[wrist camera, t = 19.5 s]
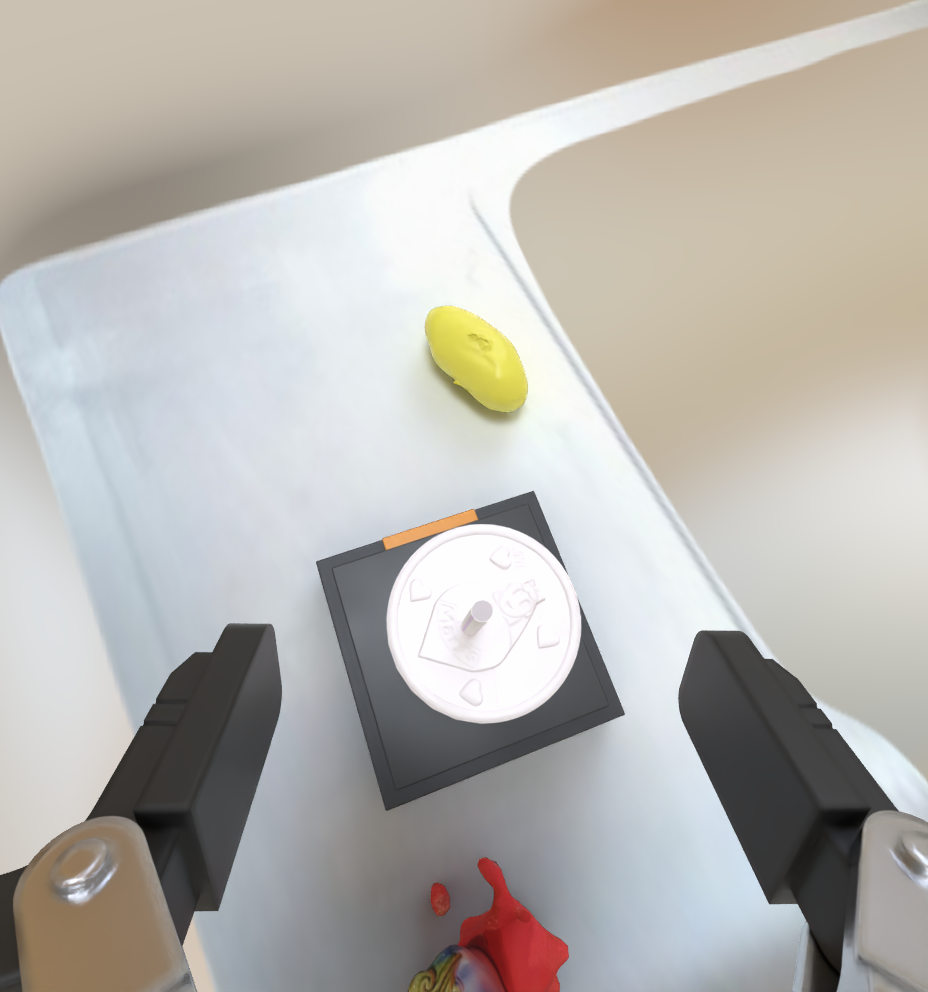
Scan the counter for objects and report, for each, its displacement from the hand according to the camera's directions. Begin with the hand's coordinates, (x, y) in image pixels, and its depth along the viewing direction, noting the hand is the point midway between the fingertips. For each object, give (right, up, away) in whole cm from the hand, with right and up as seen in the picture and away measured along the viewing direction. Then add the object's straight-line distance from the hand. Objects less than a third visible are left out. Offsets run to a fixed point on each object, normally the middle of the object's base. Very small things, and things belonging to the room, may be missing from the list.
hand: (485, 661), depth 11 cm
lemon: (0, +11, +25) cm, 27 cm away
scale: (0, -4, +19) cm, 20 cm away
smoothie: (0, -4, +17) cm, 17 cm away
